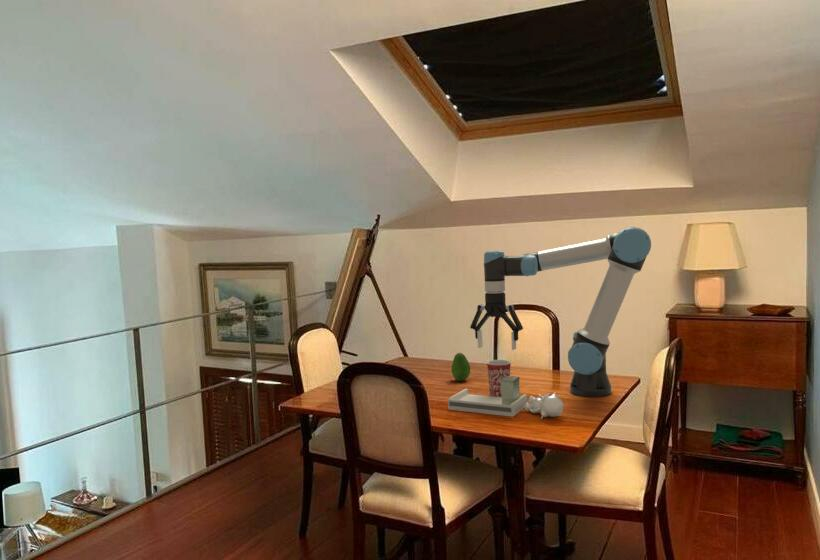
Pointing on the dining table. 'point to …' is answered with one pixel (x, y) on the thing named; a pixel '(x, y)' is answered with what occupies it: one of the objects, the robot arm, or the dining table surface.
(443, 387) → the dining table surface
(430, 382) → the dining table surface
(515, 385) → the tea tin
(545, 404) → the figurine
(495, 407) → the shelf
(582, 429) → the dining table surface
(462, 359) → the avocado
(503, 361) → the mug
